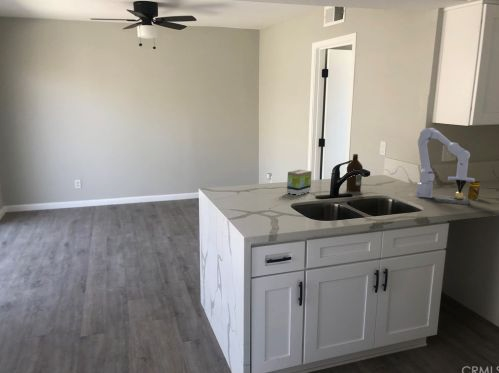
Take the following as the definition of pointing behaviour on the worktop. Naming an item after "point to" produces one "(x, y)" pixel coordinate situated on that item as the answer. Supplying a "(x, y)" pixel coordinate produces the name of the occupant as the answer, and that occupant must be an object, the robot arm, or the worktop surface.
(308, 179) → the tea box
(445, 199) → the jig
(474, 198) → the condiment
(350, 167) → the olive oil
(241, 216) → the worktop surface
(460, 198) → the bushing
